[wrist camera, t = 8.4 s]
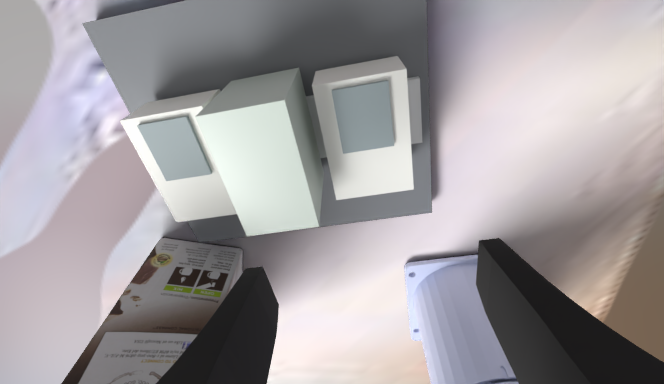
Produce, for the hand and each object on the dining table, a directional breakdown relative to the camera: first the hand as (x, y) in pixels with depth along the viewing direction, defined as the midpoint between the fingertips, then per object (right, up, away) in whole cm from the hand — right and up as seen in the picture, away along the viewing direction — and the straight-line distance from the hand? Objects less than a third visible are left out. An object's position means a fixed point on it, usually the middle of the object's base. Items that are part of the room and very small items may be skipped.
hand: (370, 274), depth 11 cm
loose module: (-4, +6, +7) cm, 10 cm away
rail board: (-4, +7, +8) cm, 11 cm away
